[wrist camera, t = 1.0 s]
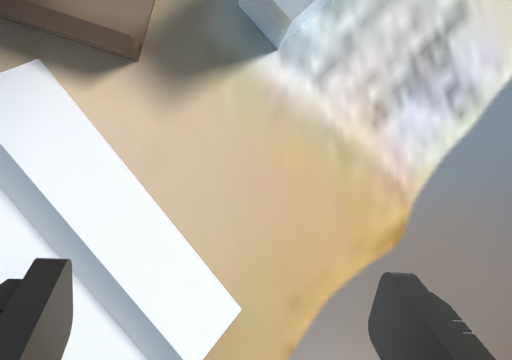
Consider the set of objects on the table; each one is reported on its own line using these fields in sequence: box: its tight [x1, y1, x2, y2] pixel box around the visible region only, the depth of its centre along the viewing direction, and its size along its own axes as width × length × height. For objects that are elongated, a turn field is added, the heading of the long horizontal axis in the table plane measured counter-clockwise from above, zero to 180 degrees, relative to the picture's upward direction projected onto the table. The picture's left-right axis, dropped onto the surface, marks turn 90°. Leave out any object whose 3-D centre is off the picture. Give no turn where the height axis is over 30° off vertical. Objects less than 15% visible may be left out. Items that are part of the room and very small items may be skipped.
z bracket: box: [0, 59, 242, 360], centre depth 32 cm, size 12×25×6 cm
